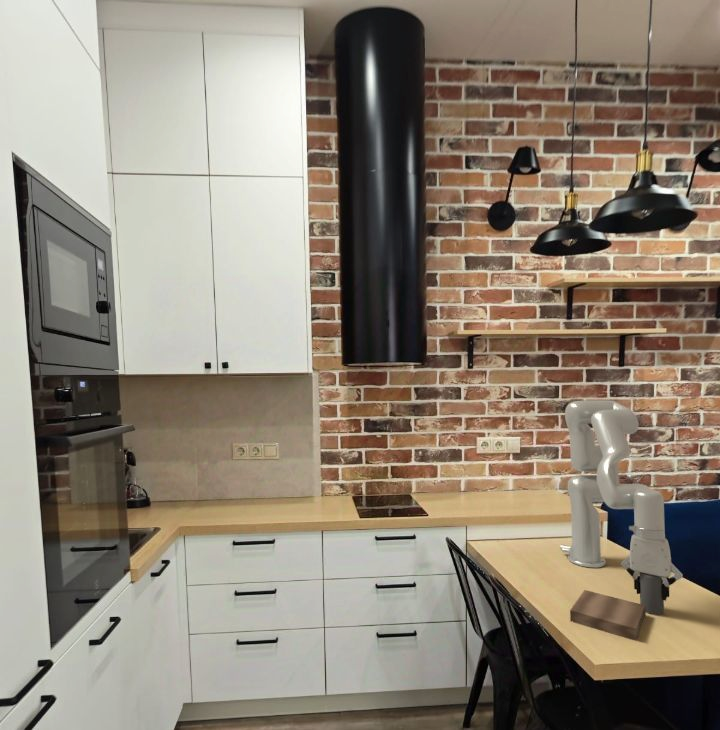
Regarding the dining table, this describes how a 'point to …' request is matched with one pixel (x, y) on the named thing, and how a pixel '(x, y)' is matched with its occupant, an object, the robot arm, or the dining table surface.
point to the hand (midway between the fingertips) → (651, 594)
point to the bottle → (651, 593)
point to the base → (609, 614)
